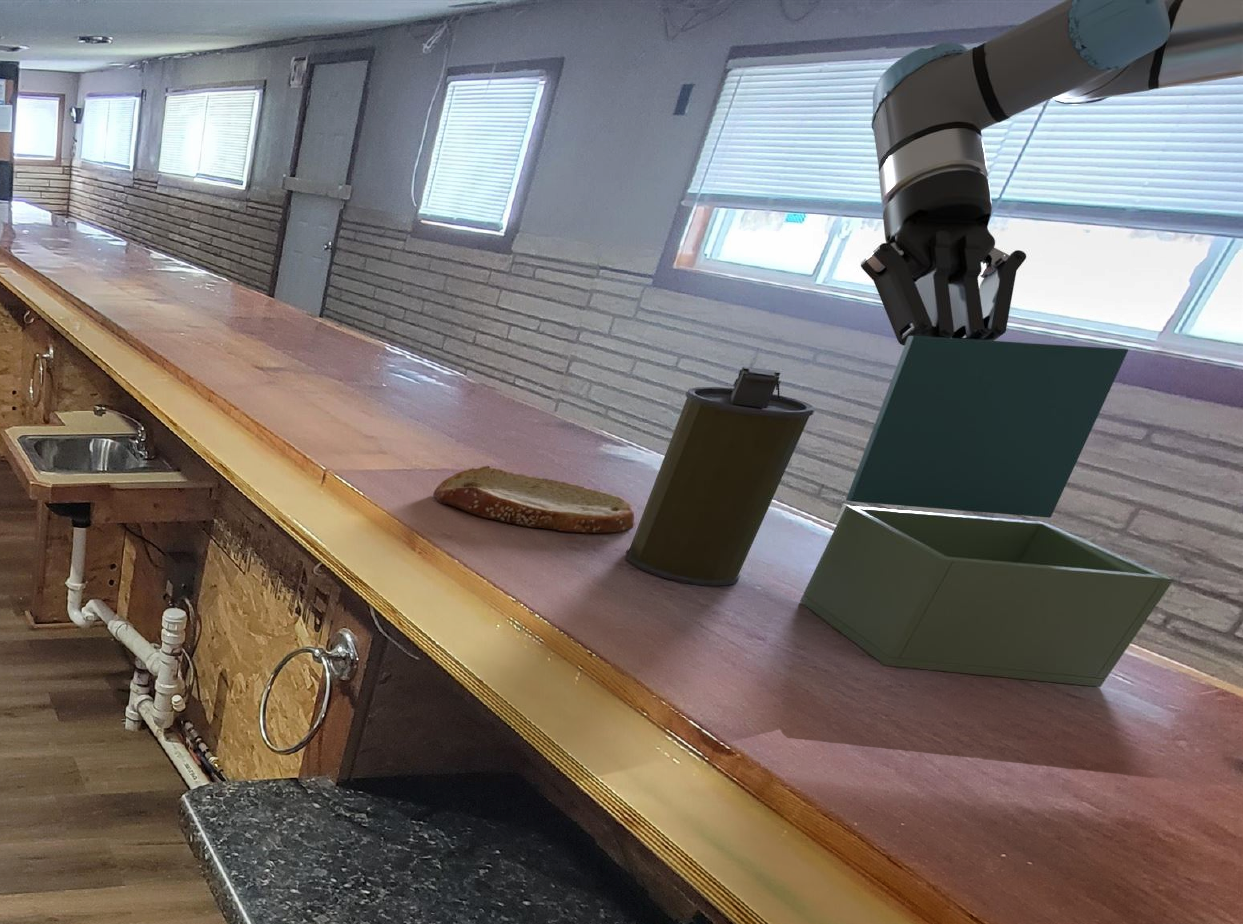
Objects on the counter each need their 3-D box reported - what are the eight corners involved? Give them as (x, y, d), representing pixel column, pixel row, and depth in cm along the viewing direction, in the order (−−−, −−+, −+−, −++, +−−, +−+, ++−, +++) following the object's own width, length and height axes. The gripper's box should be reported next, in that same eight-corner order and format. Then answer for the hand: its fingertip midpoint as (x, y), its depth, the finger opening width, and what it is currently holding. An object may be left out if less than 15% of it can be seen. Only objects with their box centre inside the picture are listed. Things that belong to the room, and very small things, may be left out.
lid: (1129, 349, 82) (1084, 347, 86) (914, 335, 84) (880, 334, 88) (1051, 517, 87) (1012, 508, 91) (850, 501, 89) (821, 493, 93)
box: (1100, 687, 81) (1175, 579, 76) (884, 665, 83) (943, 559, 78) (986, 619, 93) (1044, 521, 88) (799, 601, 95) (845, 505, 90)
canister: (740, 595, 96) (834, 388, 86) (622, 570, 100) (697, 371, 90) (736, 561, 104) (821, 369, 94) (627, 540, 108) (697, 354, 98)
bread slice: (649, 528, 112) (661, 497, 110) (534, 545, 106) (545, 512, 104) (525, 482, 126) (534, 453, 124) (417, 494, 120) (425, 464, 118)
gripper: (974, 227, 97) (1002, 435, 91) (833, 220, 99) (851, 424, 93) (1044, 168, 90) (1079, 390, 84) (890, 162, 92) (914, 379, 86)
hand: (959, 408), depth 89 cm, fingers closed
